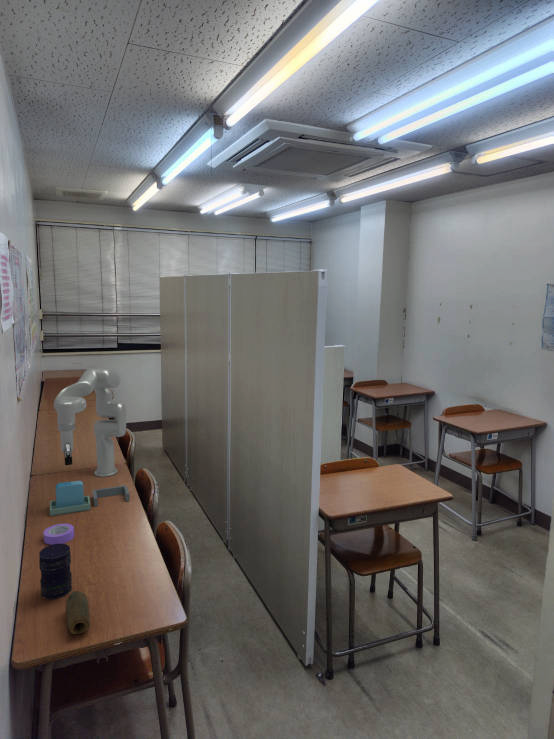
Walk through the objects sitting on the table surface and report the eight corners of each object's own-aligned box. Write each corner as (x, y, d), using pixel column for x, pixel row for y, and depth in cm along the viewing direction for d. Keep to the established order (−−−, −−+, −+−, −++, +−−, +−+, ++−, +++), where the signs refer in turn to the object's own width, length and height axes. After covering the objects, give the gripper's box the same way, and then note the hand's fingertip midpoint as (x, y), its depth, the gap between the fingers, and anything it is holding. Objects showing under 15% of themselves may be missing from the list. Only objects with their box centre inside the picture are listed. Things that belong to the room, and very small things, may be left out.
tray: (50, 507, 227) (49, 501, 227) (89, 501, 234) (89, 495, 234) (49, 516, 218) (49, 510, 217) (90, 510, 225) (90, 504, 225)
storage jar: (40, 602, 157) (37, 561, 155) (41, 585, 166) (39, 546, 164) (72, 595, 161) (70, 555, 159) (72, 579, 170) (70, 541, 168)
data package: (83, 503, 231) (82, 480, 229) (84, 507, 227) (83, 483, 225) (56, 507, 226) (55, 483, 224) (56, 511, 222) (55, 487, 220)
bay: (92, 497, 239) (92, 489, 238) (126, 492, 246) (126, 485, 245) (94, 506, 229) (94, 498, 228) (129, 501, 236) (129, 493, 235)
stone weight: (63, 611, 153) (62, 592, 152) (86, 604, 157) (85, 586, 156) (69, 640, 140) (68, 620, 139) (94, 632, 144) (93, 612, 143)
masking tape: (39, 538, 199) (39, 529, 198) (67, 528, 207) (66, 520, 206) (50, 548, 191) (50, 539, 190) (79, 538, 199) (78, 529, 199)
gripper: (57, 422, 226) (59, 456, 229) (57, 432, 211) (59, 468, 213) (74, 421, 229) (76, 454, 232) (76, 430, 214) (77, 466, 217)
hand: (68, 461), depth 223 cm, fingers open, 9 cm apart
